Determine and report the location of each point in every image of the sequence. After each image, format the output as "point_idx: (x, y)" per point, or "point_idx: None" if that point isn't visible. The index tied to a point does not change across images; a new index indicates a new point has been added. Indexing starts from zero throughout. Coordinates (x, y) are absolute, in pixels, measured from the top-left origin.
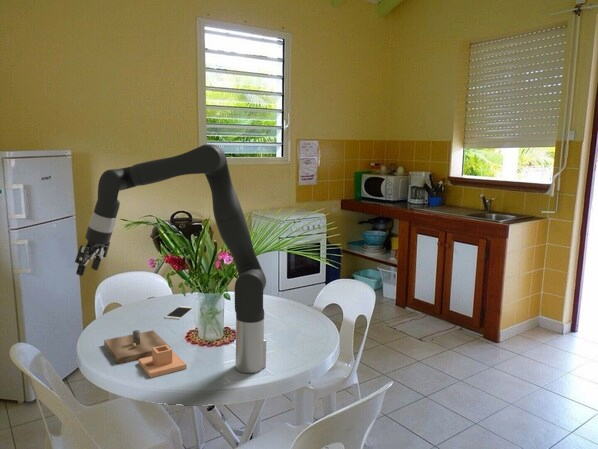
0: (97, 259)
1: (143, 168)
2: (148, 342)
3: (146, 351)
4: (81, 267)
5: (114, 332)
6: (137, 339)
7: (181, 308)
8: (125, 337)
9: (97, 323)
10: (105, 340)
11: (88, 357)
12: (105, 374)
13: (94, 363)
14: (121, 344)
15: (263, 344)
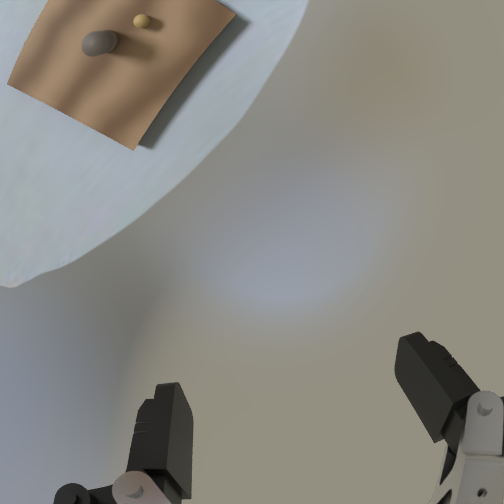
0: (173, 485)
1: None
2: (85, 15)
3: None
4: (471, 387)
5: (58, 189)
6: (109, 31)
7: None
8: (85, 109)
9: (53, 265)
10: (133, 144)
11: (224, 122)
12: (303, 10)
13: (252, 79)
14: (135, 77)
15: None
